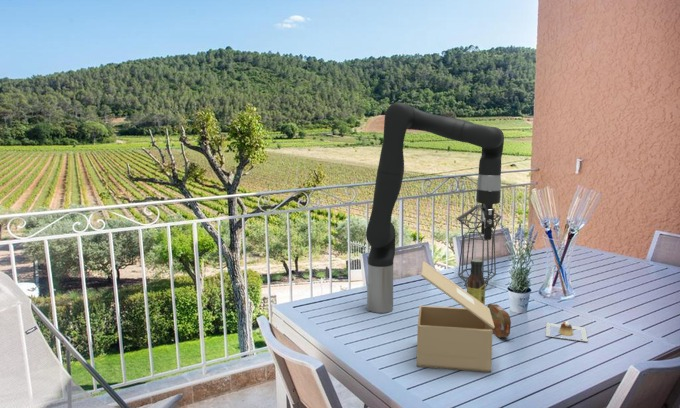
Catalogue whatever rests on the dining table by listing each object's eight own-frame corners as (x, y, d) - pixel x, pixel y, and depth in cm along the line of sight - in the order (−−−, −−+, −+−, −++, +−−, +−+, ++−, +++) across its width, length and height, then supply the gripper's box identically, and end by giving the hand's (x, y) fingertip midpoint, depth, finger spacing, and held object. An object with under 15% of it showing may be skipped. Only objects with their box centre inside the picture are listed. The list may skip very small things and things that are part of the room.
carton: (416, 367, 141) (417, 326, 139) (418, 342, 158) (419, 305, 156) (491, 373, 138) (492, 331, 136) (485, 347, 154) (486, 309, 152)
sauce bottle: (484, 318, 177) (487, 263, 174) (466, 317, 178) (468, 262, 176) (483, 312, 184) (485, 258, 181) (465, 311, 185) (467, 258, 182)
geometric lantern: (499, 283, 218) (503, 203, 212) (489, 294, 205) (492, 209, 199) (464, 277, 226) (466, 200, 220) (451, 287, 213) (454, 205, 207)
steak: (484, 323, 173) (485, 300, 171) (493, 323, 173) (494, 299, 172) (502, 342, 158) (503, 316, 157) (511, 341, 158) (512, 315, 157)
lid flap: (420, 275, 138) (422, 274, 138) (422, 262, 153) (423, 260, 153) (493, 328, 137) (494, 327, 137) (488, 309, 151) (489, 308, 151)
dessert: (546, 325, 172) (546, 312, 171) (585, 330, 168) (586, 316, 167) (545, 339, 161) (546, 324, 160) (587, 344, 157) (588, 330, 156)
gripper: (474, 185, 173) (472, 232, 176) (479, 190, 159) (476, 240, 162) (497, 186, 172) (494, 233, 175) (503, 191, 158) (500, 242, 161)
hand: (485, 236), depth 168 cm, fingers open, 8 cm apart
